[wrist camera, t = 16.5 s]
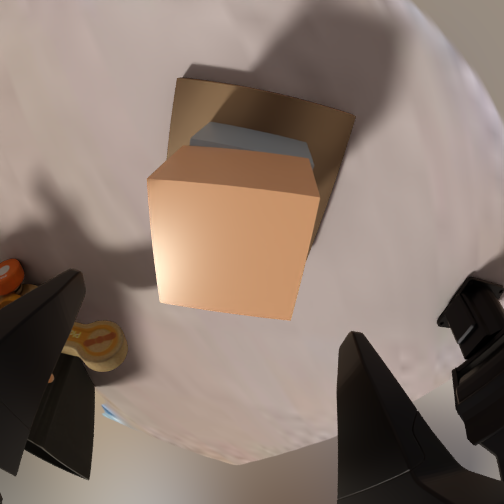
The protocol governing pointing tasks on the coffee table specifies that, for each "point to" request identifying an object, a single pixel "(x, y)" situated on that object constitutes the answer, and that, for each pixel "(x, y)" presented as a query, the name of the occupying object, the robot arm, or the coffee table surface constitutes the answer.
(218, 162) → the terracotta block
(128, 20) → the coffee table surface
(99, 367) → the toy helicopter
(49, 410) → the flower pot
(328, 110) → the walnut base plate
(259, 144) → the slate-blue block
